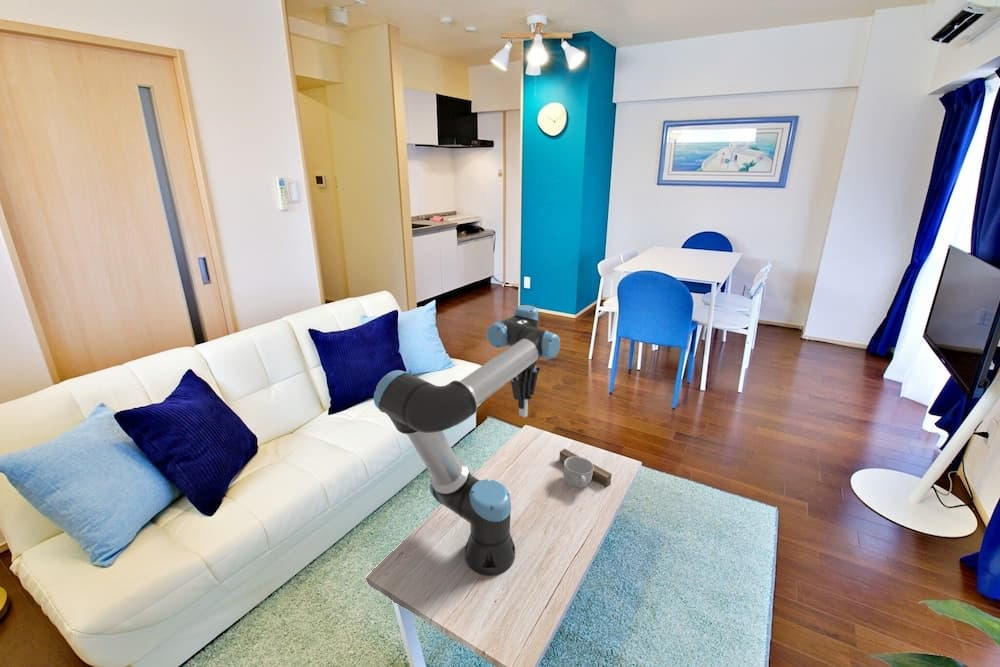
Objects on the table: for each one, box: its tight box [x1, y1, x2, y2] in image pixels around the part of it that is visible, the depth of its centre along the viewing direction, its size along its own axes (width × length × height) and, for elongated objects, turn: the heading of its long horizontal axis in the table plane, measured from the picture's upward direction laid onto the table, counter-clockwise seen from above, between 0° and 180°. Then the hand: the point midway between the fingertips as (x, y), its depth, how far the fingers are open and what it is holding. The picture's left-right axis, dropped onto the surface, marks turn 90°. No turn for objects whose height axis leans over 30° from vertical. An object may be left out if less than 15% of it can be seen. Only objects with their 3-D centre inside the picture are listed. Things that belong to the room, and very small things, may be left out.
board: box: [558, 448, 612, 489], centre depth 178 cm, size 3×22×4 cm, turn 44°
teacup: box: [563, 455, 595, 489], centre depth 171 cm, size 14×11×8 cm
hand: (523, 415), depth 161 cm, fingers closed
